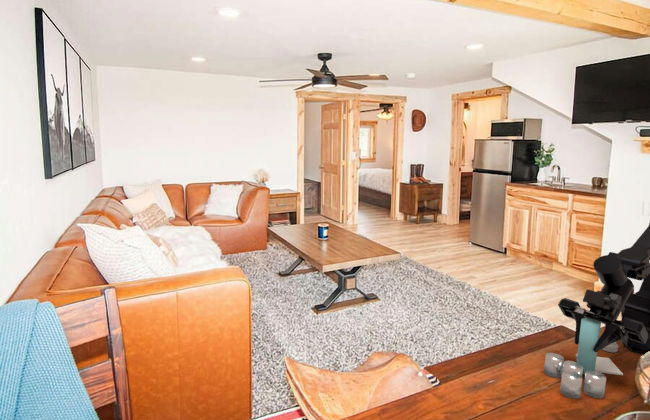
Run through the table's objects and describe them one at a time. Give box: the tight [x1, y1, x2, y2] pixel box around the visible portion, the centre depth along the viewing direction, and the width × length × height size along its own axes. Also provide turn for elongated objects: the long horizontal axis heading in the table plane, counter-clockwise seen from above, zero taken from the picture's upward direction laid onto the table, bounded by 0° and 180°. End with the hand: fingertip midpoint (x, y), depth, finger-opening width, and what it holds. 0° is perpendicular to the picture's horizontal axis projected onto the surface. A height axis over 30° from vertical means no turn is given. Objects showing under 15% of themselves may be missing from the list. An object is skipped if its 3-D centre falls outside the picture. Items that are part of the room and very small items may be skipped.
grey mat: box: [575, 353, 624, 376], centre depth 106 cm, size 8×8×1 cm
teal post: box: [575, 318, 602, 376], centre depth 100 cm, size 4×4×13 cm
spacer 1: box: [543, 352, 565, 379], centre depth 101 cm, size 4×4×4 cm
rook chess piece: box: [601, 324, 619, 354], centre depth 114 cm, size 4×4×8 cm
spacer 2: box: [563, 360, 583, 377], centre depth 98 cm, size 4×4×4 cm
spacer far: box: [559, 371, 584, 400], centre depth 93 cm, size 4×4×4 cm
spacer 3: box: [582, 370, 607, 399], centre depth 93 cm, size 4×4×4 cm
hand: (585, 347), depth 99 cm, fingers closed on teal post, 4 cm apart
